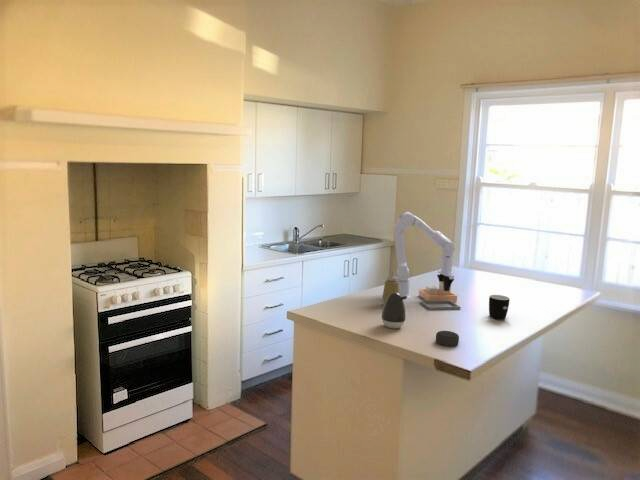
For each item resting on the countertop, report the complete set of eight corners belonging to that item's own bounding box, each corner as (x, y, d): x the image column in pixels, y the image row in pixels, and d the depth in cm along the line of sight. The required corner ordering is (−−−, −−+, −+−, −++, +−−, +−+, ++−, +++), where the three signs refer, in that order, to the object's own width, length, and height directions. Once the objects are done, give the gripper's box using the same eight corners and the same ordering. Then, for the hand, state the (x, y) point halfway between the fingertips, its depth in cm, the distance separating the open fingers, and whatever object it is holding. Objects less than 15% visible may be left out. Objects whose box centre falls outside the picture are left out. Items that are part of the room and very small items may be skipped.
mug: (502, 322, 244) (504, 300, 243) (483, 317, 250) (486, 296, 249) (513, 317, 253) (515, 296, 252) (495, 313, 259) (497, 292, 258)
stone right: (442, 294, 276) (443, 283, 275) (438, 292, 280) (439, 281, 279) (450, 294, 277) (451, 283, 276) (446, 292, 281) (447, 281, 280)
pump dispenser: (399, 332, 223) (402, 296, 221) (376, 327, 228) (379, 292, 226) (409, 326, 232) (411, 292, 229) (387, 321, 237) (389, 288, 235)
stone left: (428, 299, 275) (429, 288, 274) (425, 297, 279) (426, 286, 278) (436, 299, 275) (437, 288, 275) (433, 297, 280) (434, 286, 279)
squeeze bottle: (400, 304, 265) (403, 269, 262) (395, 308, 258) (398, 272, 255) (384, 302, 268) (387, 267, 265) (379, 305, 261) (382, 269, 258)
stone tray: (429, 311, 256) (429, 307, 256) (419, 304, 267) (420, 300, 267) (460, 310, 260) (460, 306, 259) (449, 304, 271) (450, 300, 270)
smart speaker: (432, 339, 217) (433, 329, 217) (454, 339, 218) (455, 330, 217) (438, 347, 208) (439, 337, 208) (461, 347, 209) (462, 337, 208)
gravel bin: (428, 303, 270) (429, 295, 269) (418, 296, 283) (419, 289, 282) (456, 303, 273) (457, 295, 273) (445, 296, 286) (445, 289, 285)
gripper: (460, 266, 270) (457, 293, 272) (447, 261, 284) (445, 286, 286) (447, 266, 268) (445, 293, 270) (435, 261, 282) (433, 286, 284)
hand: (444, 289), depth 278 cm, fingers closed on stone right, 4 cm apart
